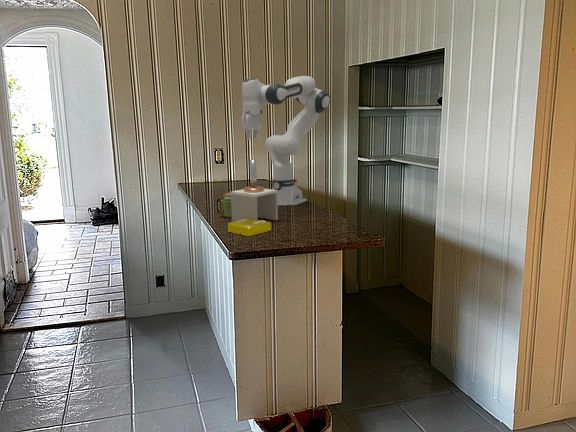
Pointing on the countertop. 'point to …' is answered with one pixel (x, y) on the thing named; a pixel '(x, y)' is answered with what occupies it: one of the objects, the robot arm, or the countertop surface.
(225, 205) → the plant pot
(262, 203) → the slotted white pedestal
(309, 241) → the countertop surface
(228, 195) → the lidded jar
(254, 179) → the peg
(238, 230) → the element tile
